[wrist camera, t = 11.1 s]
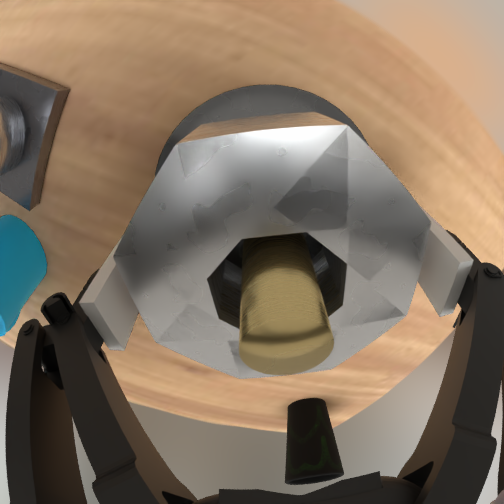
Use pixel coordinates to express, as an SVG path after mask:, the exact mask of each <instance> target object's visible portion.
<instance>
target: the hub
mask: <svg viewBox="0 0 504 504" xmlns="http://www.w3.org/2000/svg"><path fill="white" fill-rule="evenodd" d="M302 112H317V113H320V114H322V115H325V116H327V117H329V118H332V119H334V120H337V121H339V122H341V123H344V124H346V125H348V126H349V127H350V128H351V129H352V130H353V131H354V132H355V133H356V134H357V135H358V136H359V137H360V138H361V139H362V140H363V141H364V142H365V143H366V144H367V145H368V143H367V142H366V140H365V138H364V137H363V135H362V133H361V132H360V130H359V129H358V128H357V127H356V125H355V124H354V123H353V122H352V120H351V119H350V118H349V117H347V116H346V115H345V114H344V113H343V112H342V111H341V110H340V109H339V108H337V107H336V106H334V105H333V104H331V103H330V102H328V101H327V100H325V99H323V98H321V97H319V96H317V95H315V94H312V93H310V92H307V91H304V90H301V89H297V88H294V87H288V86H281V85H254V86H247V87H241V88H238V89H234V90H231V91H227V92H225V93H222V94H220V95H218V96H216V97H214V98H212V99H209V100H208V101H206V102H205V103H203V104H202V105H200V106H199V107H197V108H196V109H195V110H193V111H192V112H191V113H190V114H189V115H188V116H187V117H185V118H184V119H183V120H182V122H181V123H180V124H179V125H178V126H177V128H176V129H175V130H174V131H173V133H172V134H171V136H170V137H169V139H168V141H167V142H166V144H165V146H164V148H163V150H162V153H161V155H160V158H159V161H158V164H157V168H156V172H155V177H156V175H157V173H158V172H159V170H160V169H161V167H162V165H163V164H164V162H165V160H166V159H167V157H168V156H169V154H170V153H171V151H172V150H173V148H174V146H175V145H176V144H177V143H178V142H180V141H181V140H182V139H183V138H185V137H186V136H187V135H188V134H190V133H191V132H192V131H193V130H195V129H196V128H197V127H199V126H200V125H202V124H208V123H213V122H219V121H226V120H233V119H240V118H247V117H256V116H265V115H275V114H287V113H302ZM368 146H369V145H368ZM321 250H322V244H321V243H320V242H319V241H317V240H316V239H315V238H313V237H312V236H311V235H310V234H308V233H307V232H301V233H292V234H283V235H273V236H264V237H255V238H246V239H241V240H240V241H239V243H238V244H237V245H236V246H235V247H234V248H233V249H232V251H231V252H230V253H229V254H228V255H227V256H226V260H228V261H229V262H231V263H233V264H234V265H236V266H237V267H239V268H241V269H242V280H241V304H240V331H239V355H240V358H241V360H242V361H243V362H244V363H245V364H246V365H247V366H248V367H250V368H251V369H253V370H255V371H258V372H261V373H264V374H269V375H291V374H297V373H301V372H304V371H307V370H309V369H312V368H314V367H316V366H317V365H319V364H320V363H322V362H323V361H324V360H325V359H326V358H327V357H328V356H329V355H330V353H331V352H332V350H333V347H334V338H333V334H332V330H331V326H330V323H329V319H328V315H327V311H326V308H325V304H324V301H323V297H322V294H321V290H320V287H319V283H318V280H317V276H316V273H315V270H314V266H313V263H312V260H311V259H312V258H313V257H314V256H316V255H317V254H318V253H319V252H320V251H321Z"/></svg>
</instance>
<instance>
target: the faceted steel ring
mask: <svg viewBox="0 0 504 504" xmlns="http://www.w3.org/2000/svg"><path fill="white" fill-rule="evenodd" d="M430 227H431V221H430V219H429V218H428V217H427V215H426V214H425V213H424V211H423V210H422V209H421V207H420V206H419V205H418V203H417V202H416V201H415V199H414V198H413V197H412V196H411V194H410V193H409V192H408V191H407V189H406V188H405V187H404V186H403V184H402V183H401V182H400V181H399V180H398V178H397V177H396V176H395V175H394V174H393V173H392V171H391V170H390V169H389V168H388V167H387V166H386V165H385V163H384V162H383V161H382V160H381V159H380V158H379V157H378V156H377V155H376V154H375V152H374V151H373V150H372V149H371V148H370V147H369V146H368V145H367V144H366V143H365V142H364V141H363V140H362V139H361V138H360V137H359V136H358V135H357V134H356V133H355V132H354V131H353V130H352V129H351V128H350V127H349V126H348V125H346V124H344V123H341V122H339V121H337V120H334V119H332V118H329V117H327V116H325V115H322V114H320V113H317V112H302V113H287V114H275V115H265V116H256V117H247V118H240V119H233V120H226V121H219V122H213V123H208V124H202V125H200V126H199V127H197V128H196V129H195V130H193V131H192V132H191V133H190V134H188V135H187V136H186V137H185V138H183V139H182V140H181V141H180V142H178V143H177V144H176V145H175V146H174V148H173V150H172V151H171V153H170V154H169V156H168V157H167V159H166V160H165V162H164V164H163V165H162V167H161V169H160V170H159V172H158V173H157V175H156V177H155V178H154V180H153V182H152V183H151V185H150V187H149V189H148V190H147V192H146V194H145V196H144V197H143V199H142V201H141V203H140V205H139V206H138V208H137V210H136V212H135V214H134V216H133V217H132V219H131V221H130V223H129V225H128V227H127V229H126V231H125V233H124V235H123V237H122V239H121V241H120V243H119V245H118V247H117V249H116V251H115V253H114V255H113V258H114V261H115V263H116V265H117V267H118V270H119V272H120V274H121V276H122V278H123V280H124V283H125V285H126V287H127V289H128V291H129V293H130V295H131V297H132V299H133V301H134V303H135V305H136V307H137V309H138V311H139V313H140V315H141V317H142V318H143V320H144V322H145V324H146V326H147V328H148V330H149V331H150V333H151V335H152V337H153V339H154V340H155V342H156V343H158V344H160V345H162V346H164V347H167V348H169V349H171V350H173V351H175V352H177V353H179V354H181V355H184V356H186V357H188V358H190V359H192V360H195V361H197V362H199V363H202V364H204V365H206V366H209V367H211V368H214V369H216V370H218V371H221V372H223V373H226V374H228V375H231V376H234V377H236V378H239V379H246V378H261V377H273V376H284V375H269V374H264V373H261V372H258V371H255V370H253V369H251V368H250V367H248V366H247V365H246V364H245V363H244V362H243V361H242V360H241V358H240V355H239V331H240V304H241V280H242V269H241V268H239V267H237V266H236V265H234V264H233V263H231V262H229V261H228V260H226V256H227V255H228V254H229V253H230V252H231V251H232V249H233V248H234V247H235V246H236V245H237V244H238V243H239V241H240V240H241V239H246V238H255V237H264V236H273V235H283V234H292V233H301V232H307V233H308V234H310V235H311V236H312V237H313V238H315V239H316V240H317V241H319V242H320V243H321V244H322V250H321V251H320V252H319V253H318V254H317V255H316V256H314V257H313V258H312V259H311V260H312V263H313V266H314V270H315V273H316V276H317V280H318V283H319V287H320V290H321V294H322V297H323V301H324V304H325V308H326V311H327V315H328V319H329V323H330V326H331V330H332V334H333V338H334V347H333V350H332V352H331V353H330V355H329V356H328V357H327V358H326V359H325V360H324V361H323V362H322V363H320V364H319V365H317V366H316V367H314V368H312V369H309V370H307V371H304V372H301V373H309V372H317V371H323V370H330V369H333V368H334V367H336V366H337V365H339V364H341V363H342V362H344V361H345V360H347V359H348V358H350V357H351V356H353V355H354V354H356V353H357V352H359V351H360V350H361V349H363V348H364V347H366V346H367V345H369V344H370V343H371V342H373V341H374V340H375V339H377V338H378V337H380V336H381V335H382V334H384V333H385V332H386V331H388V330H389V329H390V328H392V327H393V326H394V325H395V324H397V323H398V322H399V321H400V320H402V319H403V318H404V317H405V316H406V315H407V313H408V310H409V307H410V304H411V301H412V298H413V294H414V291H415V288H416V284H417V281H418V277H419V274H420V270H421V266H422V262H423V258H424V254H425V250H426V246H427V241H428V237H429V232H430ZM301 373H297V374H301ZM291 375H293V374H291Z"/></svg>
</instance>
